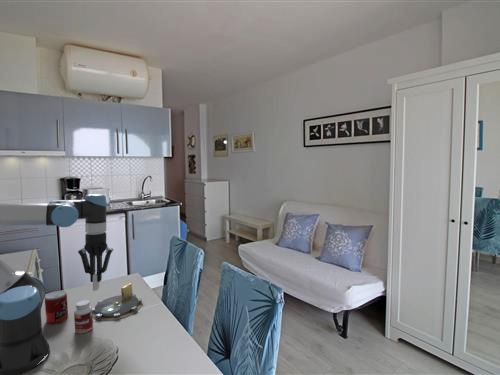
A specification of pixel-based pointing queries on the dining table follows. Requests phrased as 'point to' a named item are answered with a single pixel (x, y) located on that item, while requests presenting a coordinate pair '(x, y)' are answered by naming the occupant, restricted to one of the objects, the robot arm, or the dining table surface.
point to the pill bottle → (83, 317)
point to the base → (116, 318)
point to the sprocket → (117, 304)
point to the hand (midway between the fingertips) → (96, 289)
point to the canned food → (56, 307)
